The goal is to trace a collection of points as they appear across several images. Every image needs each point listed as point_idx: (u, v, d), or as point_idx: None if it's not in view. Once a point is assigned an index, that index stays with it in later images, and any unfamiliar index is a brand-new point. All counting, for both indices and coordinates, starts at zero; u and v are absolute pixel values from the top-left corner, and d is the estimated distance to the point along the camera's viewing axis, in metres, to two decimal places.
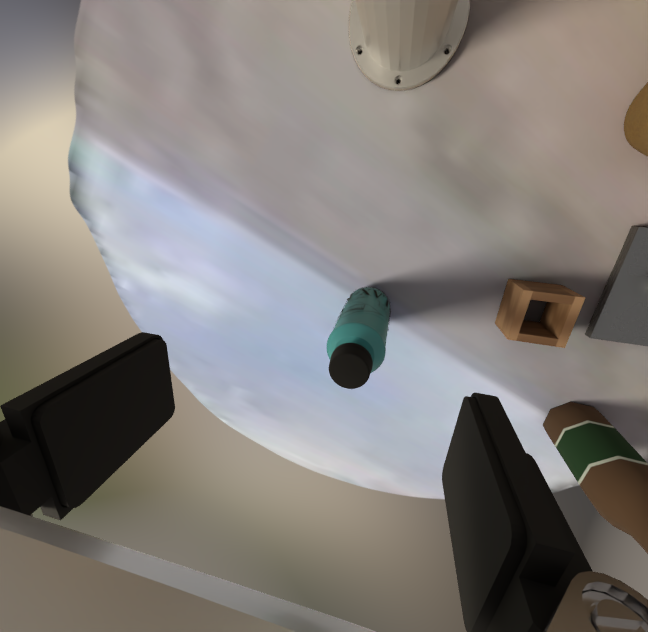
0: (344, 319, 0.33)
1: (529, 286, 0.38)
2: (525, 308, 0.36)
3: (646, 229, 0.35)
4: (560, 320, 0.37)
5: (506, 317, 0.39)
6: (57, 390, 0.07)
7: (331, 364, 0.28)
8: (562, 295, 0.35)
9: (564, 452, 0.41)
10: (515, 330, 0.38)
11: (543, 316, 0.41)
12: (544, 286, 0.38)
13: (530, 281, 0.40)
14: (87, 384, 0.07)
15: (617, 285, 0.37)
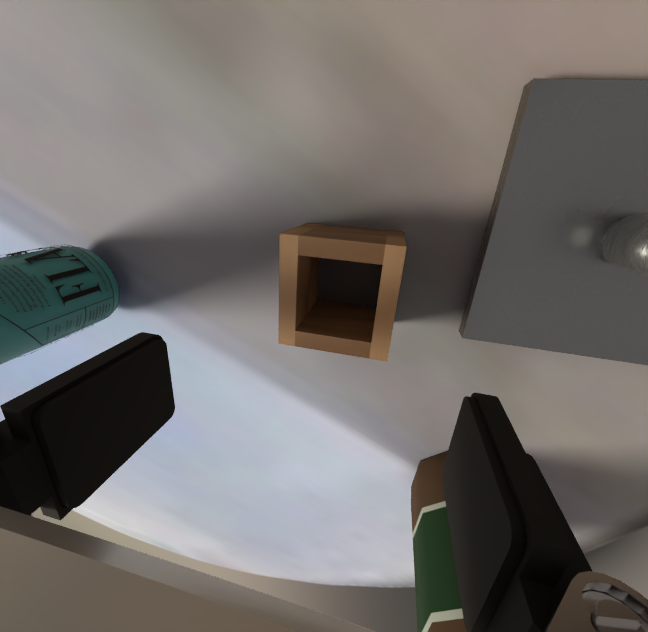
0: None
1: (316, 230, 0.18)
2: (293, 276, 0.16)
3: (550, 83, 0.15)
4: None
5: None
6: (57, 389, 0.07)
7: None
8: (359, 243, 0.15)
9: (416, 557, 0.21)
10: (287, 324, 0.18)
11: None
12: (355, 232, 0.18)
13: None
14: (87, 384, 0.07)
15: (501, 226, 0.17)
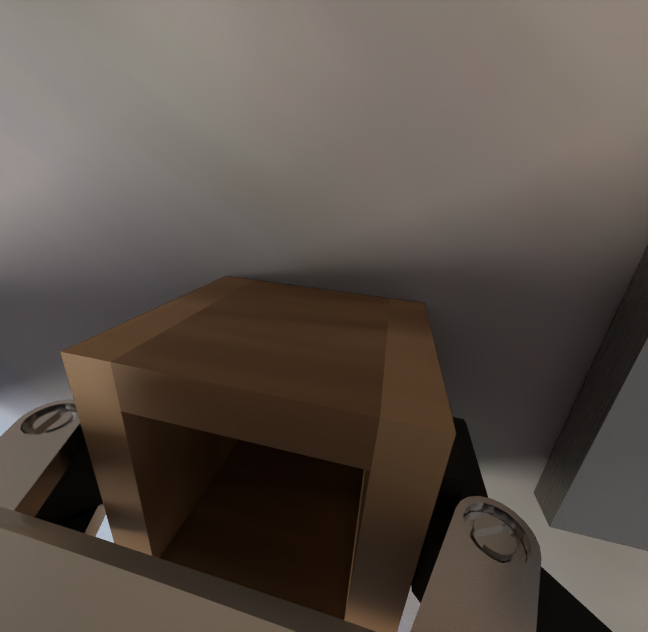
0: None
1: (210, 316, 0.07)
2: (123, 458, 0.06)
3: None
4: (360, 514, 0.06)
5: None
6: None
7: None
8: (292, 402, 0.05)
9: None
10: None
11: None
12: (311, 313, 0.08)
13: (301, 287, 0.10)
14: None
15: None
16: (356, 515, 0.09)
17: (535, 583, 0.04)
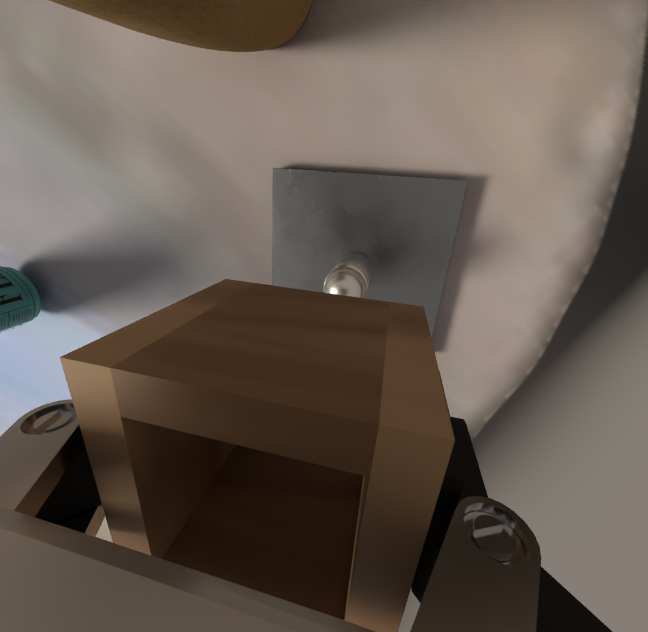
0: None
1: (210, 320, 0.07)
2: (123, 463, 0.06)
3: (282, 171, 0.23)
4: (359, 518, 0.06)
5: None
6: None
7: None
8: (291, 408, 0.05)
9: None
10: None
11: None
12: (310, 317, 0.08)
13: (300, 290, 0.10)
14: None
15: (277, 258, 0.26)
16: (356, 518, 0.09)
17: (535, 583, 0.04)
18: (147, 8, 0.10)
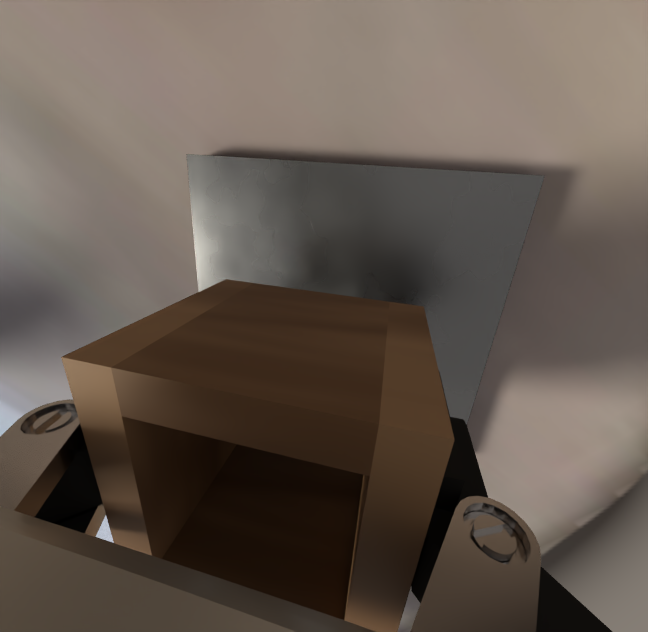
0: None
1: (211, 320, 0.07)
2: (124, 463, 0.06)
3: (203, 160, 0.13)
4: (359, 517, 0.06)
5: None
6: None
7: None
8: (292, 407, 0.05)
9: None
10: None
11: None
12: (310, 317, 0.08)
13: (301, 290, 0.10)
14: None
15: None
16: (356, 518, 0.09)
17: (535, 583, 0.04)
18: None
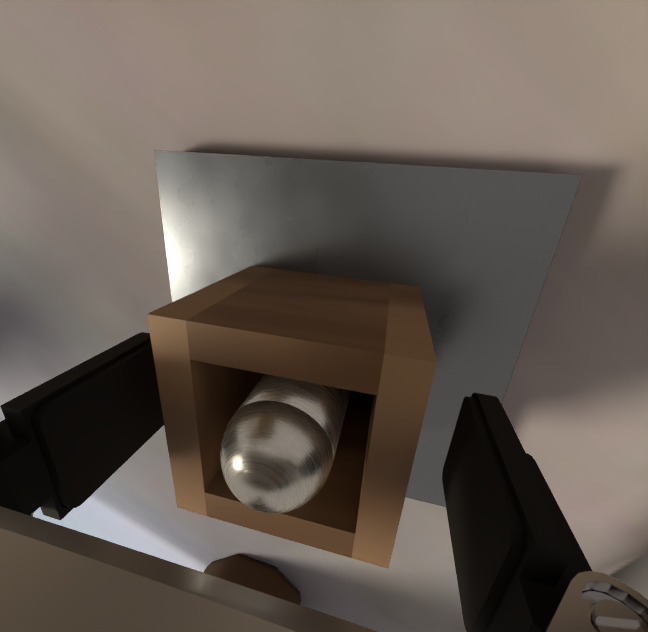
0: None
1: (248, 293, 0.09)
2: (187, 399, 0.08)
3: (173, 157, 0.11)
4: (368, 446, 0.08)
5: None
6: (57, 389, 0.07)
7: None
8: (321, 345, 0.06)
9: None
10: (189, 481, 0.09)
11: None
12: (327, 292, 0.09)
13: (315, 274, 0.11)
14: (87, 384, 0.07)
15: None
16: (363, 460, 0.10)
17: None
18: None
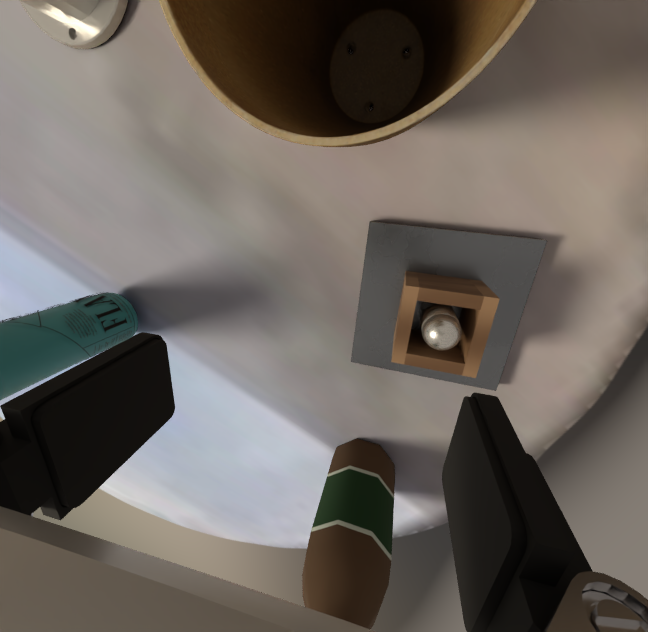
0: None
1: (423, 281, 0.24)
2: (411, 314, 0.23)
3: (378, 225, 0.27)
4: (469, 334, 0.24)
5: (396, 328, 0.26)
6: (57, 390, 0.07)
7: None
8: (464, 294, 0.22)
9: None
10: (401, 348, 0.24)
11: None
12: (449, 281, 0.25)
13: (436, 275, 0.27)
14: (87, 384, 0.07)
15: (364, 296, 0.29)
16: (459, 350, 0.26)
17: None
18: (359, 145, 0.14)
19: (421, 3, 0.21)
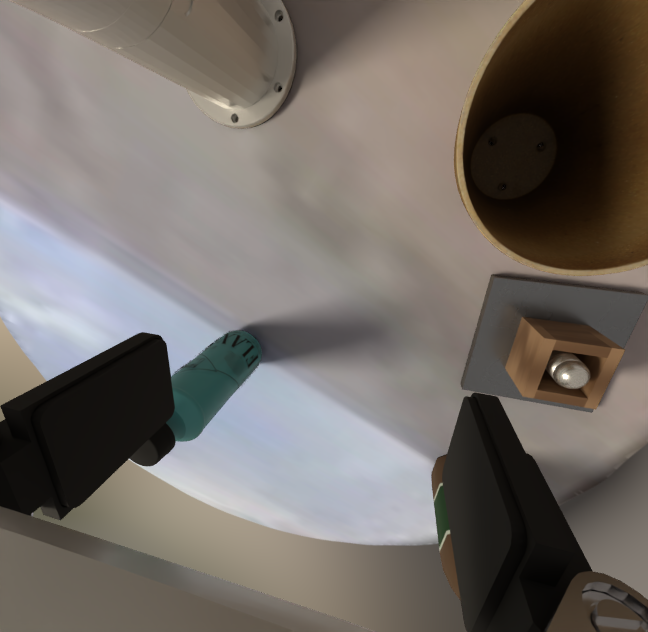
0: None
1: (550, 330, 0.30)
2: (546, 360, 0.29)
3: (502, 280, 0.32)
4: (590, 374, 0.29)
5: (520, 366, 0.32)
6: (56, 390, 0.07)
7: None
8: (594, 346, 0.27)
9: (436, 510, 0.38)
10: (532, 386, 0.30)
11: None
12: (568, 329, 0.30)
13: (549, 320, 0.32)
14: (87, 384, 0.07)
15: (481, 336, 0.35)
16: None
17: None
18: None
19: (566, 116, 0.26)
